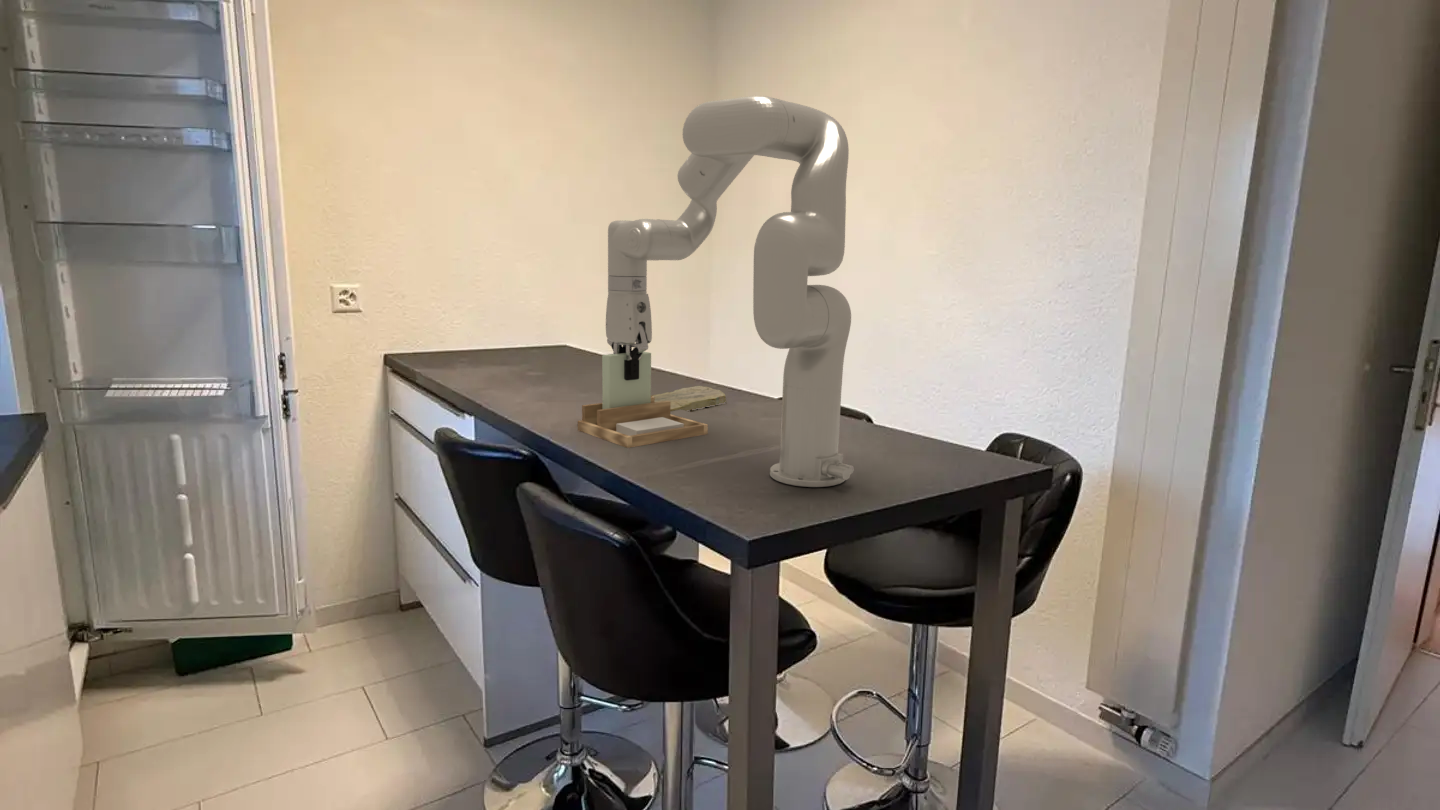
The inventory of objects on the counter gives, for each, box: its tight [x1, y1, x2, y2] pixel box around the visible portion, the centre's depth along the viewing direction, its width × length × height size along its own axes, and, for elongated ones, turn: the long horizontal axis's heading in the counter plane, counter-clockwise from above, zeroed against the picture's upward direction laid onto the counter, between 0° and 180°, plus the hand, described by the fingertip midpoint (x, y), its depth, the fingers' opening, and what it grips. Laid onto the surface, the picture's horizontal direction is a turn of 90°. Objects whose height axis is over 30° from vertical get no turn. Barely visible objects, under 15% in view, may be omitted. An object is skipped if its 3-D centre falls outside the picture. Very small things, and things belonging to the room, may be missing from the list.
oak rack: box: [577, 397, 709, 449], centre depth 156 cm, size 17×19×6 cm
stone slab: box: [651, 385, 727, 412], centre depth 188 cm, size 12×4×30 cm
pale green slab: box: [601, 351, 652, 409], centre depth 159 cm, size 2×10×16 cm, turn 131°
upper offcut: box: [616, 417, 684, 436], centre depth 154 cm, size 7×11×2 cm, turn 130°
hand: (627, 377), depth 158 cm, fingers closed on pale green slab, 2 cm apart
